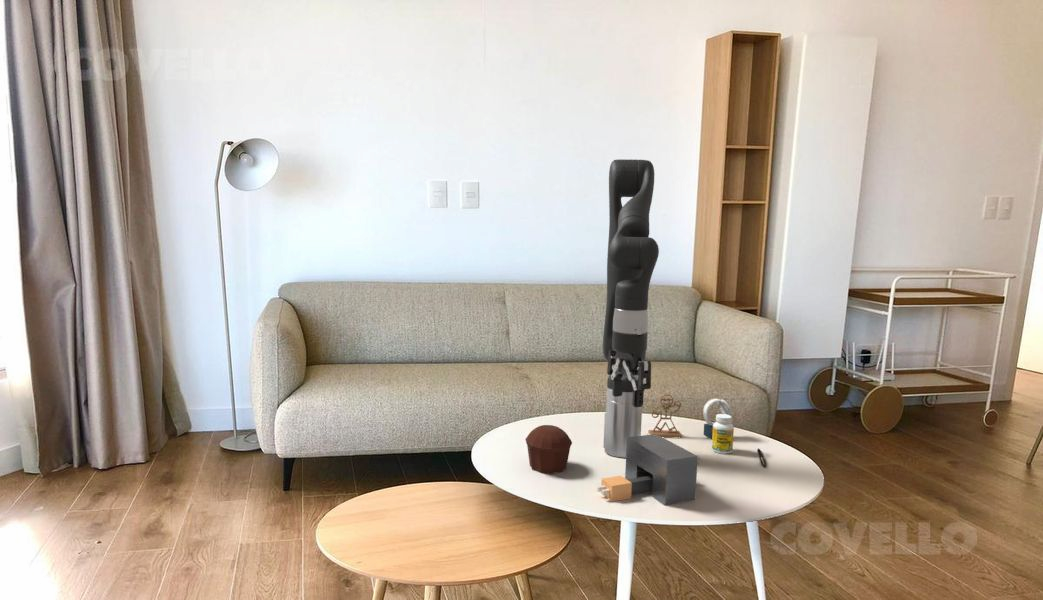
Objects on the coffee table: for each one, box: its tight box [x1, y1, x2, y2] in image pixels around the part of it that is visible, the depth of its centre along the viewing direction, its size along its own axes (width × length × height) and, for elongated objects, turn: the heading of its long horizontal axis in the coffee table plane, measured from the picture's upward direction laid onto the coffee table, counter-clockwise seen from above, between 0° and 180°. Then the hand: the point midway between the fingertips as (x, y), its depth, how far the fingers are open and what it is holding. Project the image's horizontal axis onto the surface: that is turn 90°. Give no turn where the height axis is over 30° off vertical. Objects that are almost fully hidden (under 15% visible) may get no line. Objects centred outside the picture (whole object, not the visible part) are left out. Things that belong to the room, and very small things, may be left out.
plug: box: [596, 475, 653, 502], centre depth 155 cm, size 4×25×4 cm, turn 114°
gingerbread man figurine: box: [647, 393, 683, 439], centre depth 194 cm, size 9×4×12 cm, turn 90°
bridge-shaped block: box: [624, 434, 699, 506], centre depth 156 cm, size 16×8×10 cm, turn 23°
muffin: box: [525, 424, 573, 475], centre depth 168 cm, size 12×11×10 cm
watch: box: [702, 398, 733, 440], centre depth 194 cm, size 6×8×11 cm
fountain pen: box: [756, 448, 767, 468], centre depth 178 cm, size 14×1×2 cm, turn 167°
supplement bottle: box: [711, 413, 735, 455], centre depth 183 cm, size 5×5×10 cm
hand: (627, 401), depth 151 cm, fingers open, 8 cm apart
